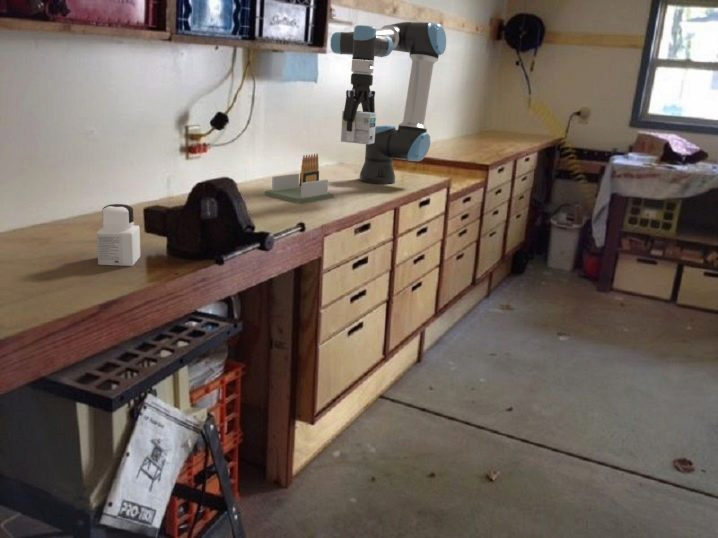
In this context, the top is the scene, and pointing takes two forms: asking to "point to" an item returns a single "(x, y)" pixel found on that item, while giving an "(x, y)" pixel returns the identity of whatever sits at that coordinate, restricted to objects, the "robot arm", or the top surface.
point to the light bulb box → (361, 128)
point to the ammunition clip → (309, 169)
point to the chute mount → (298, 189)
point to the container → (118, 237)
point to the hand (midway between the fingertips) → (357, 140)
